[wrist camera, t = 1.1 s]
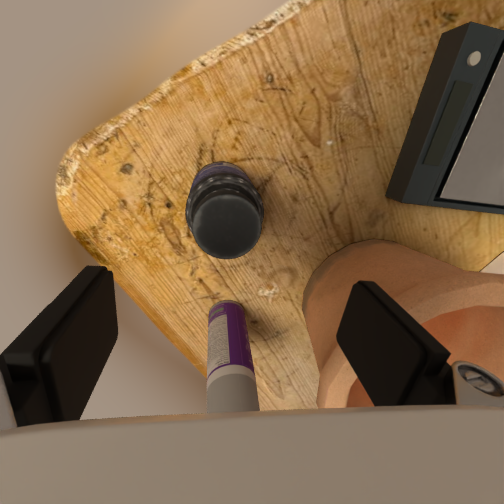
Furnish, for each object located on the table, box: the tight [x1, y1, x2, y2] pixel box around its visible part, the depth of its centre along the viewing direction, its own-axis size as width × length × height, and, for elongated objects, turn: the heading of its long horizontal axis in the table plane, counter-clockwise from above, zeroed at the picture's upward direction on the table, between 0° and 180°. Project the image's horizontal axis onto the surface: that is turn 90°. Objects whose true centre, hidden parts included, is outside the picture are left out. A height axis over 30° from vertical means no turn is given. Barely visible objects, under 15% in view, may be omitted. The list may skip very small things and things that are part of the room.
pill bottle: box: [185, 161, 264, 259], centre depth 22 cm, size 6×6×11 cm
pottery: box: [302, 239, 504, 409], centre depth 29 cm, size 22×22×14 cm
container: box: [207, 300, 260, 413], centre depth 27 cm, size 5×5×15 cm
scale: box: [385, 22, 504, 214], centre depth 27 cm, size 18×15×3 cm
